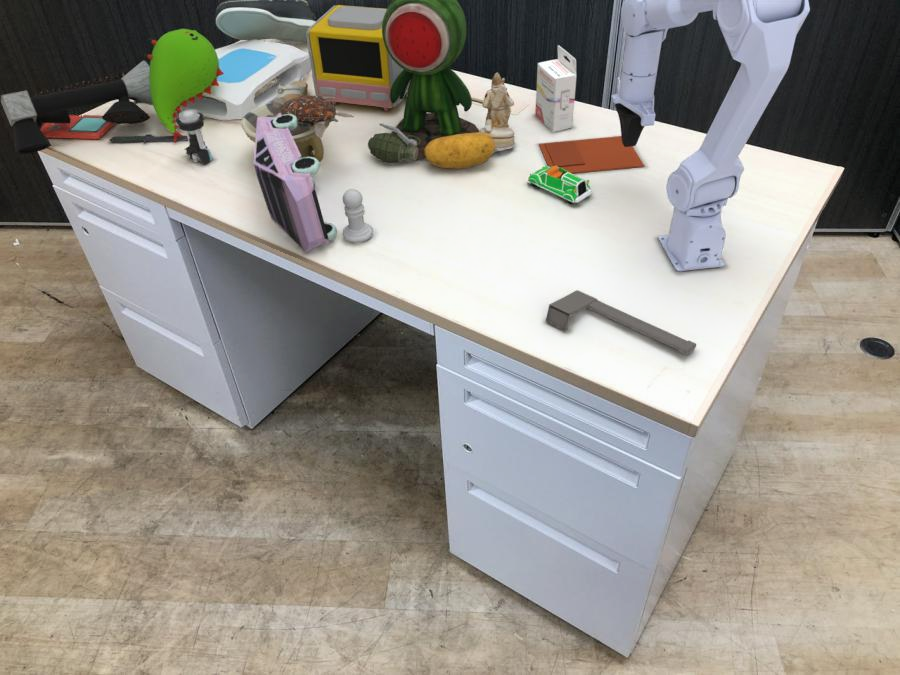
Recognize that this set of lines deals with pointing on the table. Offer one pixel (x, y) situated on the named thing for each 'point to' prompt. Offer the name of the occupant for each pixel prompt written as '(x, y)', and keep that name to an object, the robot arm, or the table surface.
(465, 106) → the figurine
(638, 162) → the rust cloth
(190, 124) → the push button
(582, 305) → the toilet paper hanger
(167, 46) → the toy
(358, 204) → the chess piece
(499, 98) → the figurine
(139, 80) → the telephone
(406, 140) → the grenade
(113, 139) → the knife
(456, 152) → the potato
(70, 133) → the handheld gaming console
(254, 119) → the bowl
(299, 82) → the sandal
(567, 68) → the ink cartridge box
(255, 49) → the document scanner
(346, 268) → the table surface
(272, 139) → the toy car
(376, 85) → the alarm clock
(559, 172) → the toy car
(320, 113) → the toy
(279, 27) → the boat shoe
